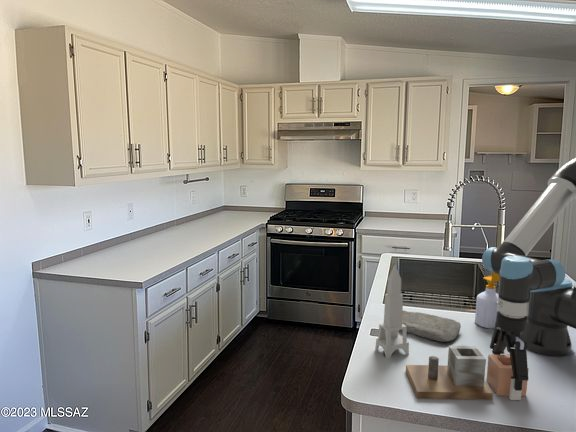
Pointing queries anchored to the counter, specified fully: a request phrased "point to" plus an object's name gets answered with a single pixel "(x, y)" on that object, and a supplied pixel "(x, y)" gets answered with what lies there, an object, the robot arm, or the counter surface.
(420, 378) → the pin board
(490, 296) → the spray bottle
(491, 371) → the orange hollow cube
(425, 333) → the stone
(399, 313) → the sculpture
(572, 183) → the robot arm
